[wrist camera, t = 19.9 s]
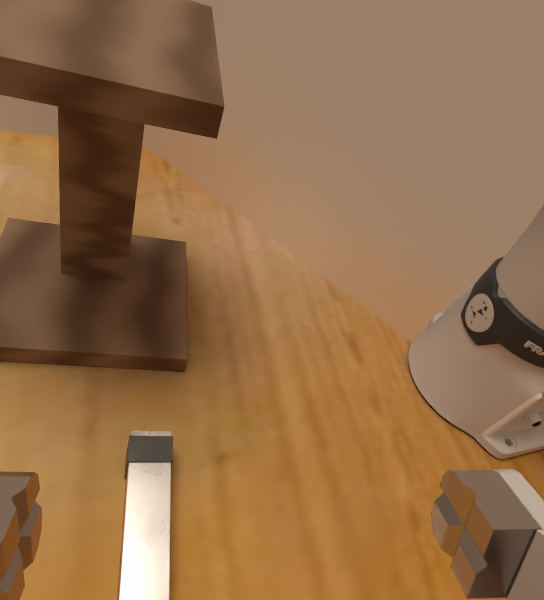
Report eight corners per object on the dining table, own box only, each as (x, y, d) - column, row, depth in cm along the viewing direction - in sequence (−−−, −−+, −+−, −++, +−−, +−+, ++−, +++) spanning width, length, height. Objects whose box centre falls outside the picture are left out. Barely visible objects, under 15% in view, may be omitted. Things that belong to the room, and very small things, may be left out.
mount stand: (183, 255, 56) (236, 13, 38) (184, 371, 46) (258, 114, 28) (9, 232, 51) (-23, -60, 33) (-35, 358, 40) (-118, 29, 22)
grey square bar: (166, 448, 40) (172, 430, 38) (160, 841, 26) (168, 849, 24) (126, 448, 39) (130, 429, 37) (96, 856, 25) (98, 865, 23)
